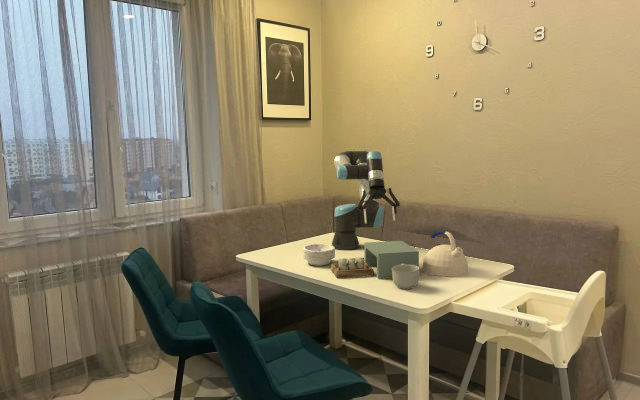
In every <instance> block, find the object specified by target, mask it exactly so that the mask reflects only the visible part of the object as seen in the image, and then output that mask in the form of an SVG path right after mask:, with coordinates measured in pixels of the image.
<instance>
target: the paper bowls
mask: <svg viewBox="0 0 640 400" xmlns="http://www.w3.org/2000/svg"><path fill="white" fill-rule="evenodd" d="M302 249H303V250H302V251H303V252H302V254H303V256H302V257H303V259H304V260H306V261H307V263H308V264H309V265H311V266H318V267H319V266H325V265H329V264H330V263H331V261H332V260H333V259H335V258H336V249H335V247H334V246H332V244H327V243H326V244H325V243H313V244H308V245H305V246H303V248H302Z"/></svg>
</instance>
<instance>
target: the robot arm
mask: <svg viewBox="0 0 640 400" xmlns="http://www.w3.org/2000/svg"><path fill="white" fill-rule="evenodd" d="M333 165H334V167H335V169H336V178H337V180H342V181H345V180H349V181H350V180H357V183H358V190H359V192H358V193H359V198H360V199H359V202H358V203H359V204H358V205H356V204H355V203H346V204H339V205H337V206H336V207H335V208H334V216H333V217H334V235H333V238H332V241H331V245H332V246H334V247H335V250H339V251H340V250H341V251H349V250H350V251H351V250H356V249H359V248H360V241H359V237H358V234H357V229H369V228H370V229H371V228H372V229H374V228H376V229H377V228H381V227H382V225H383V222H384V221H383V220H384V207H383V205H380V202H379V201H377V200H378V199H379V200H381V199H384V200H385V201H386V202H387V203H388V204H389V205H390V206H391V207H392V209H391V210H392V219H393V221H392V222H395V221H396V216H395V215H397V214H398V212H397V207H400V201H399V200H398V199H397V198H396V196H395V194H394V193H393V191H392V187H389V188H386V187H385V180H384V179H385V175H384V167H383V156H382V153H381V152H380V151H377V150H375V151H374V150H353V151H352V150H346V151H342V152H340V153H338V154H337V155H336V156H335V157H334V158H333ZM386 193H387V194H389V196H390V197H391V199H390V198H389V196H387V195H386ZM392 200H393V201H394V202H393V201H392Z"/></svg>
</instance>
